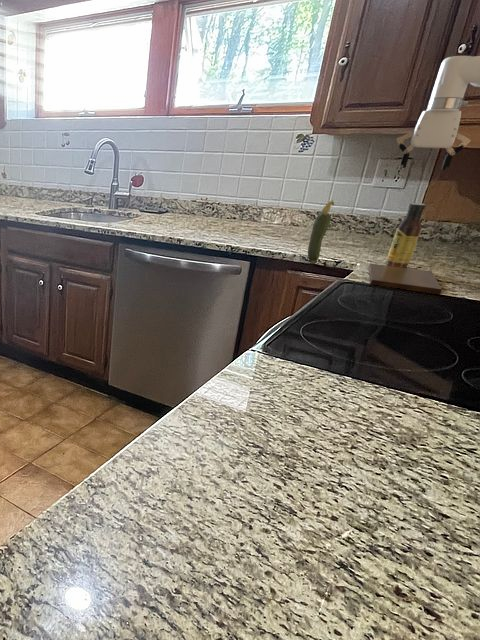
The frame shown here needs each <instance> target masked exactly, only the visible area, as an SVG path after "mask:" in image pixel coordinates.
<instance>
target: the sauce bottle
mask: <svg viewBox="0 0 480 640" xmlns="http://www.w3.org/2000/svg"><path fill="white" fill-rule="evenodd" d="M426 206H427V205H426V204H425V203H421V202H410V203H409V205H408V209H407V213H406V215H405V217H404V218H403V220H402V221H401V222H400V224H399V225H398V226H397V227H396V230H395V233H394V236H393V238H392V242H391V245H390V247H389V250H388V253H387V256H386V261H385V265H386V266H395V267H403V268H408V266H409V264H410V263H411V259H412V256H413V254H414V251H415V248H416V245H417V243H418V240H419V238H420V233H421V231H422V228H423V226H422V222H421V219H422V215H423V212H424V211H425V208H426Z"/></svg>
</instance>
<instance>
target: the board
mask: <svg viewBox="0 0 480 640" xmlns="http://www.w3.org/2000/svg"><path fill="white" fill-rule="evenodd" d="M367 269H368V276H369V277H368V278H369V284H371V286H375V285H379V286H378V287H383V286H386V288H390V287H393V288H392V289H397V288H400V289H399V290H404V289H406V290H405V291H411V290H412V292H419V293H425V292H426V294H434V295H441V294H442V291H443V288H442V287H441V284H440V283H439V281H438V280H437V278H436V276H435V275H434V273H433V271H432V270H427V269H418V268H410V267H405V268H403V267H395V266H389V265H387V264H378V263H369V264H368V267H367Z"/></svg>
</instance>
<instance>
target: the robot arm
mask: <svg viewBox="0 0 480 640" xmlns="http://www.w3.org/2000/svg"><path fill="white" fill-rule="evenodd" d="M468 85H471V86H473V87H476V88H480V55H476V56H473V55H453V56H448V57H446V58H444V59H443V60H442V62H441V63H440V66H439V69H438V73H437V75H436V78H435V81H434V85H433V88H432V91H431V95H430V97H429V100H428V104H427V107H426V109H425V110H423V111H422V112H421V114H420V116H419V118H418V120H417V123H416V124H415V127H414V130H413V131H412V132H409V133H406V134H404V135H401V136H399V137H397V139H396V143H397V145H398V148H399V149H400V150H401V152H402V154H403V155H402V158H401V161H400V164H399V165H400V166H401V169H405V168H406V167H407V164H408V161H409V158H410V152H411V151H412V150H414V149H415V148H425V149H445V150H446V152H447V154H446V155H445V157H444V159H443V162H442V165H441V168H440V169H441V170H442V171H445V170H446V169H447V168H449V167H450V165H451V162H452V159H453V156H454V155H456V154H458V153H459V152H461V151H463V149H464V148H465V147H466V146H468V144H469V143H470V142H471V139H470V138H468V137H466V136H465V135H463V134H461V133H460V132H458V131H459V127H460V123H461V117H462V110H460V109H461V108H464V107H467V106H468V104H469V100H464V97H465V93H466V91H467V88H468ZM407 139H410V142H409V143H410V145H409V146H407V147H406V146H405V143H404V141H405V140H407ZM456 139H457V140H458V141H461V143H460V144H459V145H458V146H457V147H455V148H453V145H454V143H455V140H456Z"/></svg>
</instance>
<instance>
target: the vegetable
mask: <svg viewBox="0 0 480 640" xmlns="http://www.w3.org/2000/svg"><path fill="white" fill-rule="evenodd" d="M334 205H335V202H334V200H330V201H328V202H327V203H326V204H325V206H324V207H323V208H322V210H321V212H320V213H319V214H318V215H317V216H316V217H315V220H314V223H313V225H312V230H311V234H310V238H309V242H308V247H307V258H308V260H309V262H310V263H311V264H313V265H314V264H315V263H317V262H318V259H320V253H321V247H322V243H323V239H324V237H325V236H326V233H327V231H328V228H329V227H330V224H331V220H332V217H331V214H330V213H329V212H330V211H331V208H332V206H334Z"/></svg>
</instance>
